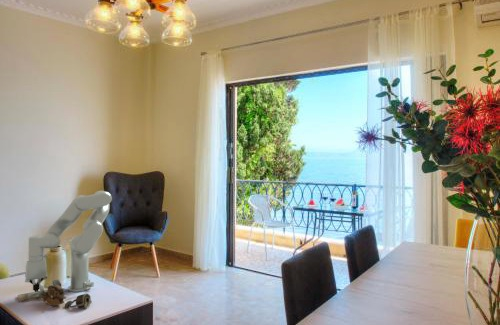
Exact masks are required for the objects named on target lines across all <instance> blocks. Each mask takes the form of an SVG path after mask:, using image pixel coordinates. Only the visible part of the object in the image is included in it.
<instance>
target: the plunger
mask: <svg viewBox="0 0 500 325" xmlns="http://www.w3.org/2000/svg"><path fill="white" fill-rule="evenodd" d="M44 290H45V286H44V284H43V283H40V289H39V291H40V292H42V291H43V293H44Z"/></svg>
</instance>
